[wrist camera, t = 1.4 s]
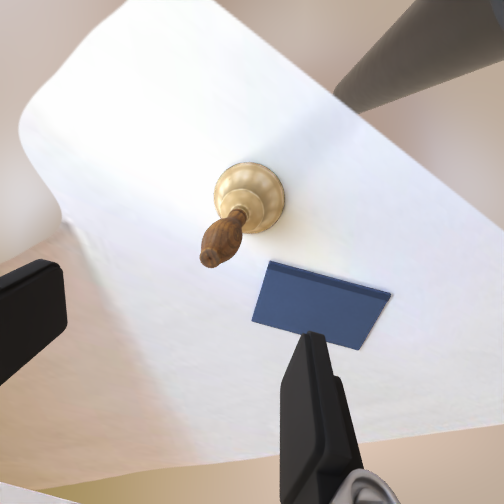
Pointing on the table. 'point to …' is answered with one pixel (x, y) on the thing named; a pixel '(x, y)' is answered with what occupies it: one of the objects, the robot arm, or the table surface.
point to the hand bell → (241, 210)
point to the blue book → (318, 305)
